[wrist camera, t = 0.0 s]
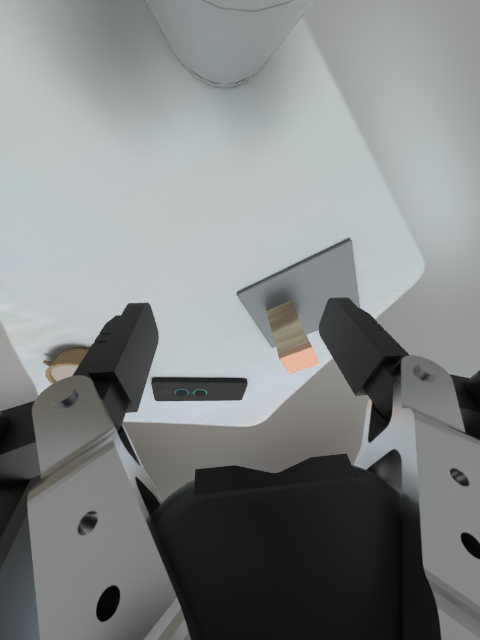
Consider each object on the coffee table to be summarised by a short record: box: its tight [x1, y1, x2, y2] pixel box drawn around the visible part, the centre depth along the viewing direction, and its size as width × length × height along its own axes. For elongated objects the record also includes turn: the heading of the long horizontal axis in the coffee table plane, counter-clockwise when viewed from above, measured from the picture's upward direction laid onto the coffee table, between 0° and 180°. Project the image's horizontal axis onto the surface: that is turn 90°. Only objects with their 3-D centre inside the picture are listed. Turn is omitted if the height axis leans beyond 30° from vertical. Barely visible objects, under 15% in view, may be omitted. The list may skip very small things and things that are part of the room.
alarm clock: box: [43, 348, 89, 384], centre depth 37 cm, size 11×5×15 cm
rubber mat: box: [237, 239, 360, 348], centre depth 32 cm, size 14×16×1 cm
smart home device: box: [151, 378, 247, 401], centre depth 46 cm, size 8×2×20 cm
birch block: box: [266, 301, 319, 374], centre depth 29 cm, size 4×4×9 cm
